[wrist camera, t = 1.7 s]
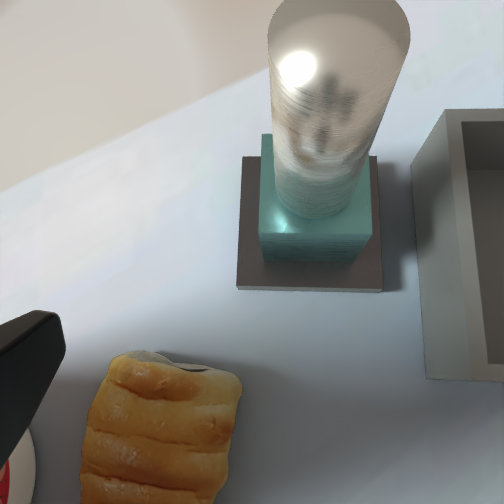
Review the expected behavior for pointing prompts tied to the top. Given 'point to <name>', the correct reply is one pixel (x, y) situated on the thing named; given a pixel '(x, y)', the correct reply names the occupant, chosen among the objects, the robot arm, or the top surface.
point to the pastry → (158, 432)
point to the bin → (461, 244)
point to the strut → (325, 124)
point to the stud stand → (302, 272)
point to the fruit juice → (19, 473)
